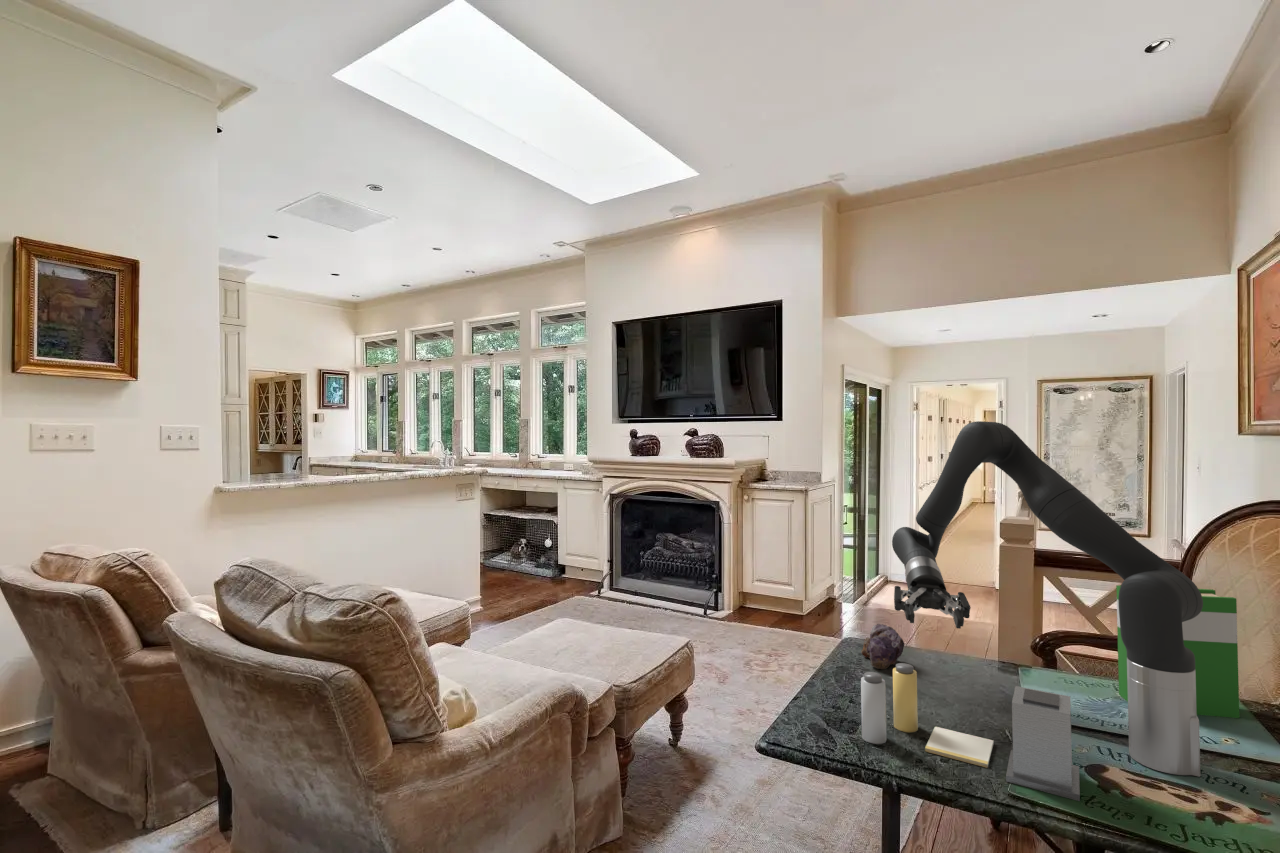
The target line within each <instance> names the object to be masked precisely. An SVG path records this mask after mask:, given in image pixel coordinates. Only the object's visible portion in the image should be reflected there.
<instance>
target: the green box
mask: <svg viewBox="0 0 1280 853" xmlns="http://www.w3.org/2000/svg"><path fill="white" fill-rule="evenodd" d="M1120 587H1121V585H1116V622H1117V623H1116V626H1117V627H1116V628H1117V629H1116V630H1117V632H1116V633H1117V666H1118V667H1117V668H1118V674H1117V675H1118V696H1120V697H1121V698H1123V699H1124V700H1125V701H1126V702H1127V703H1128V685H1127V651H1126V647H1125V645H1124V643H1123V641H1122V638H1121V631H1120V618H1119V590H1120ZM1198 589H1199V591H1200V593H1201V595H1202V599H1203V608H1202V610H1201V612H1200V614H1199V615H1197V616H1196V617H1195V618H1193V619H1190V620H1187V621H1184V622H1182V629H1183V641H1184V646H1185V647H1186V648H1188V649H1190V650H1191V651H1192V652H1193V653H1194V656H1195V674H1196V713H1197V716H1210V717H1220V718H1221V717H1223V718H1234V719H1240V694H1239V693H1240V689H1239V688H1240V687H1239V686H1240V685H1239V652H1238V651H1239V649H1238V648H1239V646H1238V613H1237V610H1238V608H1237V598H1236V597H1230V596H1219V595H1217V594H1216V590H1214V589H1210V588H1209V589H1207V588H1198Z"/></svg>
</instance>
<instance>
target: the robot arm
mask: <svg viewBox="0 0 1280 853" xmlns="http://www.w3.org/2000/svg"><path fill="white" fill-rule="evenodd" d="M985 463H986V464H987V463H989V464H993V465H994V466H996V467H997V468H998V469H1000V470H1001V471H1002V472H1004V473H1005V474H1006V475H1007V476H1009V477H1010V478H1011V479H1012V480H1013V481H1014V482H1015V483H1016V484H1017V486H1018V488H1019V489H1020V492H1021V494H1022V497H1023V498H1024V500H1025V502H1026V504H1027V506H1028V508H1029V509H1030V511H1031V512H1032V514H1034V516H1035V517H1036V518H1037V519H1038V520H1039V521H1040V522H1042V524H1043V525H1045V526H1046V527H1047V529H1049V530H1050V531H1051V532H1052V533H1054V534H1055V536H1057V537H1058V538H1060V539H1061V540H1062V541H1064V542H1065V543H1067V544H1069V545H1071V546H1072V547H1074V548H1076V549H1077V550H1079V551H1081V552H1084V553H1085V554H1087V555H1089V556H1091V557H1093V558H1094V559H1096V560H1098V561H1100V562H1102V563H1103V564H1105V565H1106V566H1107V567H1109V568H1110V569H1111V570H1113V572H1115V573H1116V574H1117V575H1118V576H1119V577H1120V578H1122V580H1123V582H1122V583H1121V585H1120V586H1121V587H1120V590H1119V618H1120V631H1121V638H1122V641H1123V643H1124V645H1125V647H1126V651H1127V685H1128V702H1127V717H1128V720H1127V721H1128V723H1127V724H1128V726H1127V727H1128V754H1129V756H1130V757H1131V758H1132V759H1133V760H1134V761H1136V762H1137V763H1139V764H1140V765H1143V766H1145V767H1147V768H1149V769H1153V770H1155V771H1159V772H1162V773H1166V774H1171V775H1178V776H1193V777H1194V776H1195V777H1198V778H1199V777H1201V750H1200V749H1201V742H1200V739H1201V738H1200V720H1199V717H1198V715H1197V713H1196V674H1195V656H1194V653H1193V652H1192V651H1191V650H1190V649H1188V648H1186V647H1185V646H1184V641H1183V629H1182V622H1184V621H1187V620H1190V619H1193V618H1195V617H1196V616H1197V615H1199V614H1200V612H1201V610H1202V608H1203V599H1202V595H1201V593H1200V591H1199V589H1200V588H1198V586H1197V585H1196V584H1195V582H1193V581H1192V579H1190V578H1189V577H1188V576H1187V575H1185V573H1183V572H1182V571H1181V570H1179V569H1178V568H1176V567H1175V566H1173V565H1172V564H1171V563H1169V562H1167V561H1166V560H1164V559H1163V558H1162V557H1160V556H1159V555H1158V554H1156V553H1155V552H1153V551H1152V550H1150V549H1149V548H1148V547H1146V546H1145V545H1144V544H1142V543H1141V542H1139V540H1137V539H1136V538H1135V537H1133V536H1132V535H1131V533H1129V532H1128V531H1127V530H1126V529H1124V527H1122V525H1120V524H1119V523H1118V522H1116V520H1114V519H1113V518H1111V516H1109V515H1108V514H1107V513H1106V512H1105V511H1104V510H1102V509H1101V508H1100V507H1099V506H1098V505H1097V504H1096V503H1095V502H1094V501H1092V500H1091V499H1090V498H1089V497H1088V496H1087V495H1085V494H1084V493H1083V492H1082V491H1081V490H1079V489H1078V488H1077V487H1076V486H1074V485H1073V484H1072V483H1070V482H1069V481H1068V480H1067V479H1065V478H1064V476H1062V475H1061V474H1060V473H1059V472H1057V471H1056V470H1055V469H1053V468H1052V467H1051V466H1050V465H1048V464H1047V463H1046V462H1044V461H1043V460H1042V459H1041V458H1040V457H1039V456H1038V455H1037V454H1036V453H1035V452H1034V451H1033V450H1032V449H1031V448H1030V447H1029V446H1028V445H1027V444H1026V443H1025V442H1024V441H1023V440H1022V439H1021V437H1020V436H1019V435H1018V434H1017V433H1016V432H1015V431H1013V429H1012V428H1011V427H1009V426H1008V425H1006V424H1004V423H1000V422H998V421H996V422H995V421H982V420H981V421H972V422H969V423H967V424H965V425H964V426H963V427H962V428H961V430H960V431H959V433H958V435H957V437H956V438H955V441H954V443H953V445H952V448H951V451H950V453H949V455H948V458H947V460H946V462H945V465H944V466H943V469H942V471H941V473H940V476H939V478H938V479H937V482H936V484H935V486H934V487H933V489H932V490H931V492H930V494H929V496H928V497H927V498H926V499H925V501H924V502H923V504H922V506H921V507H920V509H919V511H918V512H917V514H916V517H915V521H916V523H917V525H918V526H919V527H920V528H921V529H923V530H924V531H926V532H927V533H928V534H926V533H924V532H921V531H919V530H917V529H915V528H912V527H909V526H903V527H900V528H898V529H896V531H894V534H893V536H892V538H891V539H892V540H891V545H892V549H893V551H894V554H895V555H896V556H897V558H898V560H899V561H900V562H901V563H902V565H903V566H904V570H905V571H904V574H905V577H904V578H905V582H906V586H907V590H905V589H904V590H903V589H902V588H901V586H899V585H895V586H894V592H893V604H894V610H895V611H897V612H900V611H903V613H904V615H905V619H906V620H907V621H909V623H910V624H915V612H916V611H918V610H920V609H921V608H922V609H924V610H927V609H928V610H929V609H930V610H935V611H940V612H942V613H943V614H945V615H946V616H947V615H949V616H951V617H952V618H953V622H954V625H955V628H956V629H962V628H961V627H964V624H965V619H969V618H970V611H971V605H970V602H969V600H968V598H967V597H966V594H965V593H964V592H961V591H959V592H958V593H957V595H956V594H951V593H950V592H948V591H947V586H946V585H945V582H944V577H943V575H942V571H941V569H940V567H939V566H938V563H937V560H936V558H937V556H938V553H939V549H940V545H941V542H942V538H943V535H944V534H945V532H946V529H947V528H948V526H949V525H950V524H951V522H952V520H953V519H954V518H955V516H956V515H957V513H958V512H959V509H960V508H961V506H962V503H963V498H964V497H963V496H964V491H965V487H966V485H967V482H968V480H969V479H970V477H971V475H972V474H973V473H974V472H975V470H977V468H978V467H979V466H980V465H981V464H985ZM906 597H907V599H906V600H905V601H904V600H903V599H905V598H906Z"/></svg>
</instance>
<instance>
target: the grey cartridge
mask: <svg viewBox="0 0 1280 853" xmlns="http://www.w3.org/2000/svg"><path fill="white" fill-rule="evenodd" d="M886 695H887V694H886V680H885V679H884V678H883V676H882V674H880V673H879V672H876V671H875V672H874V671H866V672H864V673H863V676H862V677H861V678H860V699H861V700H860V703H861V704H860V705H861V707H860V708H861V709H860V710H861V712H860V713H861V739H862V740H863V741H865V742H866V743H870V744H874V745H875V744H876V745H881V744H885V743H886V742H887V703H886V701H887V697H886Z"/></svg>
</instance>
